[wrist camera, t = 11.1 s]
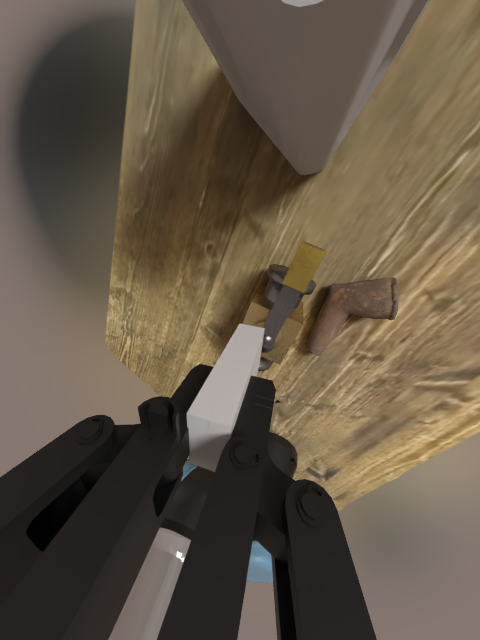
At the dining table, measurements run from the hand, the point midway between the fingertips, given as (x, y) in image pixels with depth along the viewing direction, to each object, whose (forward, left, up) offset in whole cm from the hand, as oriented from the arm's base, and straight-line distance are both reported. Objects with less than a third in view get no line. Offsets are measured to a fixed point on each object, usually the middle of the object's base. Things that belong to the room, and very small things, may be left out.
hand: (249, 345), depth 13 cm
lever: (-3, -2, -16) cm, 17 cm away
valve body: (-9, -2, -26) cm, 28 cm away
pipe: (-4, -14, -27) cm, 30 cm away
